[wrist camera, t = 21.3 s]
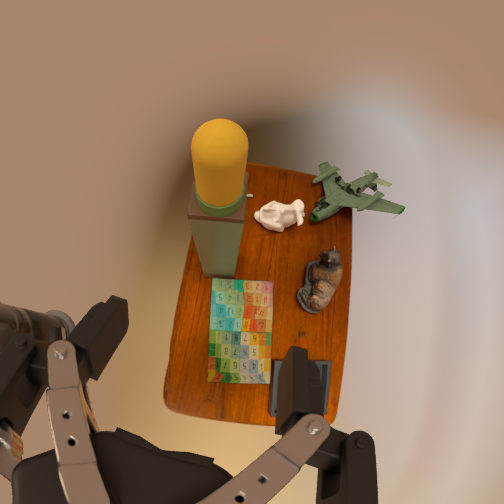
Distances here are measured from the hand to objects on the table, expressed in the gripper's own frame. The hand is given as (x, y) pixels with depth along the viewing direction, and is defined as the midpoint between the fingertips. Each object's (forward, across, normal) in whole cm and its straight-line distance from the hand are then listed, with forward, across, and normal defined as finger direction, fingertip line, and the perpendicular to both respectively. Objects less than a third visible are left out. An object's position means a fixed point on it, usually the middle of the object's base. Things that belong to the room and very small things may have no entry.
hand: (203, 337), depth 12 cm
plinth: (+41, +4, +20) cm, 45 cm away
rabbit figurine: (+49, -6, +11) cm, 51 cm away
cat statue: (+41, -16, +20) cm, 49 cm away
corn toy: (+19, +3, -1) cm, 19 cm away
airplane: (+54, -22, -4) cm, 59 cm away
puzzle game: (+32, -3, +29) cm, 43 cm away
